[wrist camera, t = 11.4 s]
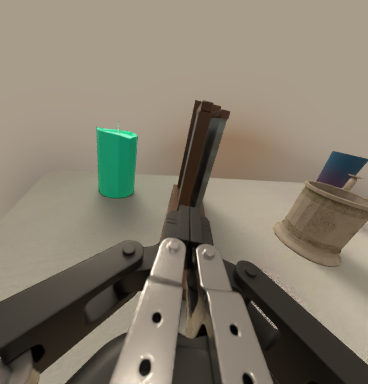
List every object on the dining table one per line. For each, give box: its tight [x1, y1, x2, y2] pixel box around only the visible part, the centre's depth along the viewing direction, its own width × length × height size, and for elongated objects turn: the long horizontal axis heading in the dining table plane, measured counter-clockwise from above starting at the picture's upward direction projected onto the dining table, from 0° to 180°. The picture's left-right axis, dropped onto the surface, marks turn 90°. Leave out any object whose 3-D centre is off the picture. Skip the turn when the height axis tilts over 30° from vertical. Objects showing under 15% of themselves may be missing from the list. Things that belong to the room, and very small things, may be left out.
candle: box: [96, 121, 138, 198], centre depth 26 cm, size 6×6×12 cm
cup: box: [316, 151, 368, 188], centre depth 41 cm, size 7×7×15 cm
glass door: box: [176, 101, 213, 211], centre depth 21 cm, size 1×11×14 cm, turn 178°
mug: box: [273, 174, 368, 267], centre depth 25 cm, size 14×10×12 cm
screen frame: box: [160, 100, 230, 300], centre depth 20 cm, size 6×22×18 cm, turn 178°
